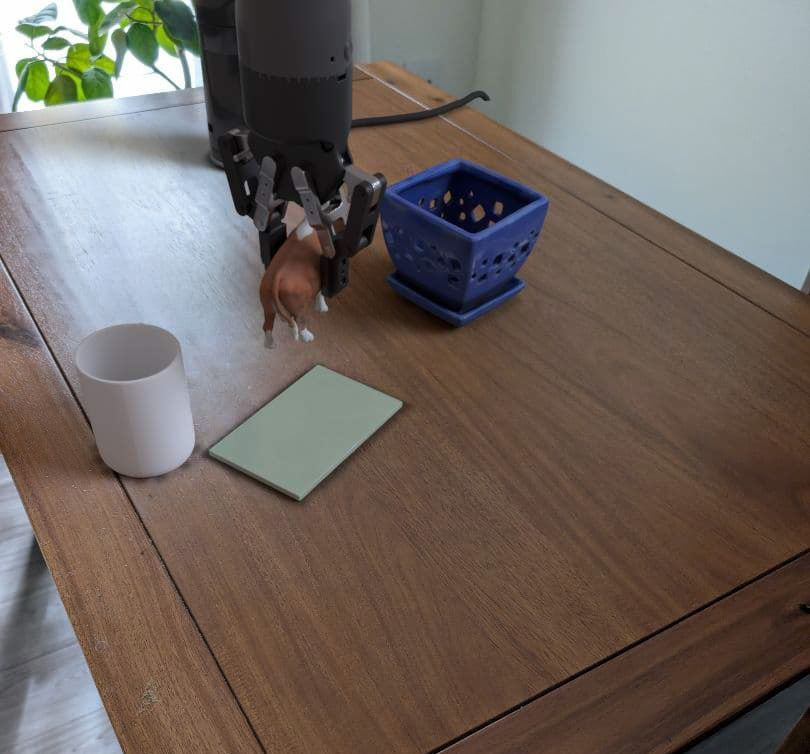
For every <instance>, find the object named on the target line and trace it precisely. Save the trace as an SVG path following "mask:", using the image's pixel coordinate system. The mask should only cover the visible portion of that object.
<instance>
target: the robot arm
mask: <svg viewBox="0 0 810 754" xmlns="http://www.w3.org/2000/svg"><path fill="white" fill-rule="evenodd" d="M193 7H194V15H195V23H196V33H197V42H198V51H199V58H200V59H199V60H200V68H201V78H202V87H203V96H204V105H205V112H206V113H205V114H206V120H205V121H206V124H207V126H206V127H207V133H208V141H209V157H210V160H211V162H212V164H214V165H216V166H218V167H220V168H221V169H224V173H225V177H226V180H227V184H228V188H229V191H230V195H231V199H232V202H233V206H234V210H235V212H236V213H237V214H238V215H239V216H240V217H248V218H250V219H251V220H252V222H253V225H254V227H255V229H256V230H257V231H258V241H259V243H258V244H259V256H260V260H261V263H262V265H264V273H265V272H266V270H267V269H268V267H269V265H270V263H271V261H272V259H273V257H274V256H275V254H276V253H277V251H278V250H279V248H280V247H281V246H282V245H283V244H284V242H285V241H286V239H287V237H288V232H287V228H288V226H287V223H285V222H282V221H283V219H285V217H286V213H287V210H288V207H289V202H293V203H294V204H296V205H298V206H299V207H300V208H302V209H304V213H305V216H307V219H308V223H309V225H310V227H311V228H314V229H315V230H316V233H317V236H318V239H319V242H320V246H321V249H322V252H323V253H322V254H321V255H320V273H321V295H322V296H324V297H325V298H326V299H328V300H331V299H333V298H335V297H336V296H337V295H338V294H340V293H341V292H343V289H346V288H347V286H348V284H349V273H350V272H349V270H350V267H349V266H350V265H349V264H350V263H349V260H350V259H352V258H354V257H355V256H356V255H357V254H358V253H360V252H361V251H362V250H364V249H365V248H368V247H370V246H371V245H372V244H373V241H374V237H375V233H376V229H377V225H378V222H379V219H380V210H381V206H382V202H383V198H384V194H385V190H386V187H388V181H387V178H386V176H385V175H384V174H383V173H382V172H379V171H378V172H375V173H373V174H372V175H370V174H369V173H367V172H366V171H364V170H362V169H361V168H359V167H357V166H356V165H354V158H353V156H352V153H351V150H350V146H349V136H350V131H351V128H356V127H361V126H362V127H363V126H373V125H385V124H393V123H401V122H409V121H416V120H421V119H427V118H431V117H435V116H439V115H442V114H445V113H447V112H451V111H453V110H456V109H458V108H461V107H464V106H465V105H467V104H469V103H471V102H472V101H474V100H475V99H477V98H478V99H479V98H480V99H482V100H483V101H484V102H489V101H491V98H490V96H489V95H488V93H486V92H485V91H483V90H475V91H473V92H471V93H469V94H468V95H465V96H464V97H462V98H460V99H457V100H455V101H452V102H449V103H447V104H444V105H441V106H439V107H436V108H435V107H434V108H432V109H428V110H423V111H422V110H421V111H417V112H416V111H415V112H409V113H403V114H402V113H401V114H394V115H386V116H374V117H373V116H371V117H363V118H354V119H353V80H354V79H353V75H354V73H353V72H354V71H353V67H354V64H353V63H354V62H353V59H354V58H353V51H354V50H353V48H354V45H353V43H354V41H353V40H354V39H353V38H354V37H353V36H354V19H353V18H354V17H353V16H354V15H353V4H352V0H193ZM245 184H247V188H248V192H249V193H248V192H247V189H246V186H245ZM344 184H345V185H346V187H347V196H346V193H345V189H344ZM328 201H329V206H328V207H327V208H325V209H324V210H322V208H321V206H322V205H324V204H325V203H327V202H328ZM332 224H333V228H334V231H335V234H336V235H334V234H333V230H332Z"/></svg>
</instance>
